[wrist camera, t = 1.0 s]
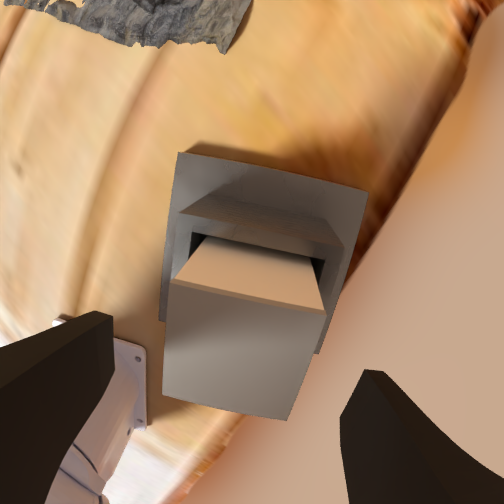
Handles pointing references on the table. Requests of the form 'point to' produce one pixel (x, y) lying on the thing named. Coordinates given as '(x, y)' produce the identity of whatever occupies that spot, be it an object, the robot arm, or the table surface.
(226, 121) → the table surface
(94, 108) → the table surface
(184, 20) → the driftwood
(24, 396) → the robot arm
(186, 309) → the post
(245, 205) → the sleeve stand
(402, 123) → the table surface
